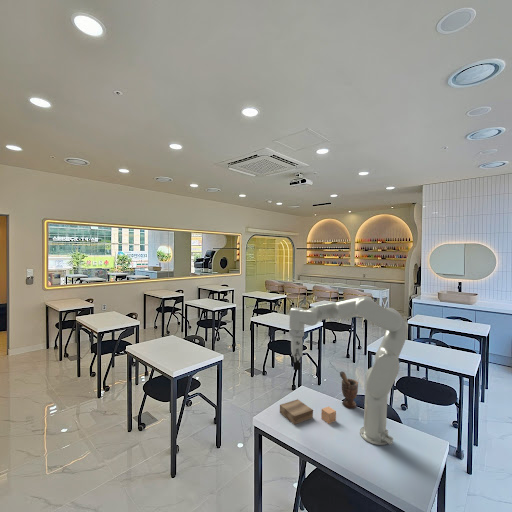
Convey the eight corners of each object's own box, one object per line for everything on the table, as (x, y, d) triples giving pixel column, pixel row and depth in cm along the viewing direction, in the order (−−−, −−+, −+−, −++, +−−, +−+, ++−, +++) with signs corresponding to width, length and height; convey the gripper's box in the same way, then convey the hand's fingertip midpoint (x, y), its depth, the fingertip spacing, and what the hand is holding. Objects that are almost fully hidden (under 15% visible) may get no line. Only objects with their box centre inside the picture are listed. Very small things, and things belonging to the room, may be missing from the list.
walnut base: (312, 417, 147) (313, 409, 147) (294, 424, 140) (294, 416, 140) (297, 406, 157) (297, 399, 157) (279, 412, 151) (279, 404, 151)
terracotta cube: (335, 421, 145) (336, 411, 145) (328, 423, 142) (328, 413, 142) (328, 416, 149) (328, 406, 149) (321, 418, 146) (321, 408, 146)
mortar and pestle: (352, 413, 152) (353, 376, 151) (336, 407, 157) (337, 371, 157) (359, 405, 161) (360, 369, 161) (344, 399, 166) (345, 365, 166)
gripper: (306, 337, 138) (305, 373, 138) (301, 328, 155) (300, 359, 155) (291, 337, 138) (289, 372, 138) (287, 327, 155) (286, 359, 155)
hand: (295, 365), depth 147 cm, fingers open, 9 cm apart
